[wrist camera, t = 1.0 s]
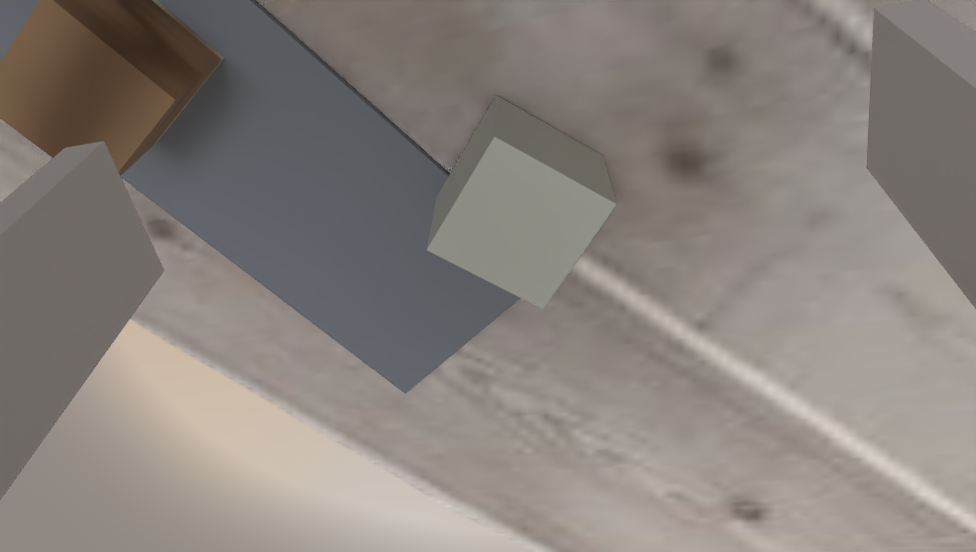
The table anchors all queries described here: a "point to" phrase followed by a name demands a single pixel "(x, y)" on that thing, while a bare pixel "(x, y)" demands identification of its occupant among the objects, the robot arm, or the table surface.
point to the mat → (309, 193)
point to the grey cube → (520, 204)
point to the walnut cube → (101, 75)
